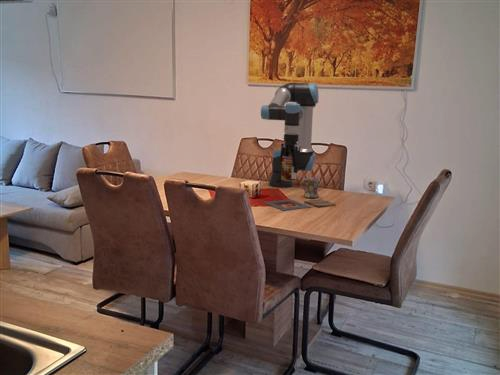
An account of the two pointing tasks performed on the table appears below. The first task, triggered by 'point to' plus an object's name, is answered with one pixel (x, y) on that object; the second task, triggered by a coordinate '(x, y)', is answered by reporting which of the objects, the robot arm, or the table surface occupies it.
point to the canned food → (287, 168)
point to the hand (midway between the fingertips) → (288, 177)
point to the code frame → (274, 204)
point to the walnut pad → (319, 203)
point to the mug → (311, 187)
